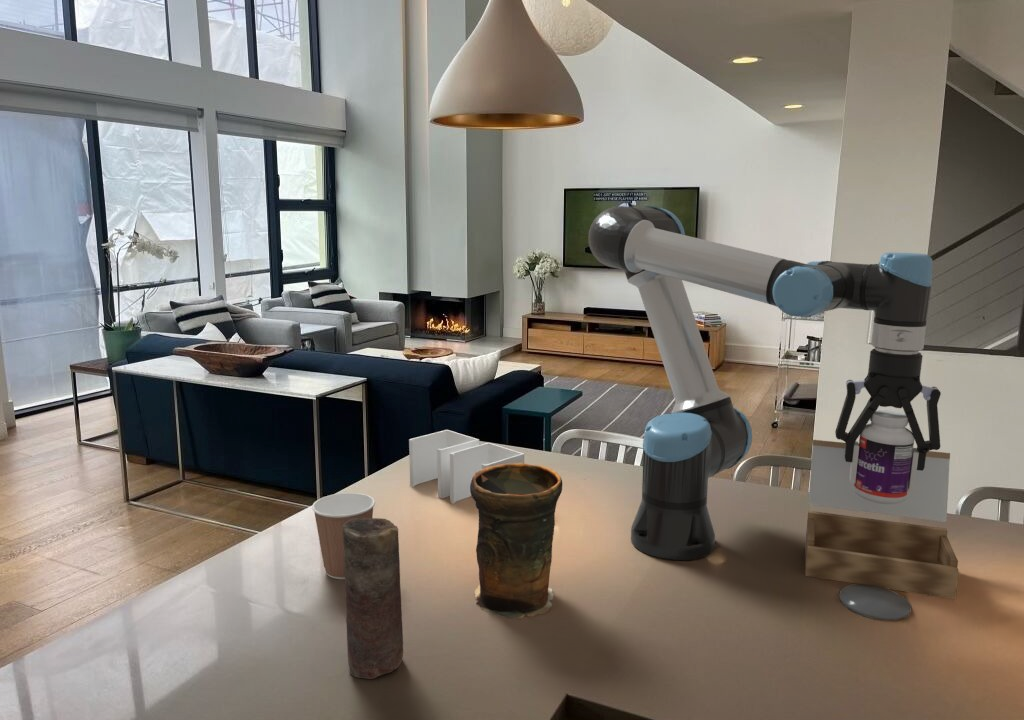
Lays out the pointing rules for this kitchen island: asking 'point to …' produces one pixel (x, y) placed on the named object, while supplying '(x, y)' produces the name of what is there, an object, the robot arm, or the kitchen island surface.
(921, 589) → the wooden box
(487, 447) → the storage container
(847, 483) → the lid
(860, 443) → the pill bottle
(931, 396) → the robot arm
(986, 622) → the kitchen island surface
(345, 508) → the coffee cup
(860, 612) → the grey oval disc
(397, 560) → the candle
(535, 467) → the vessel
